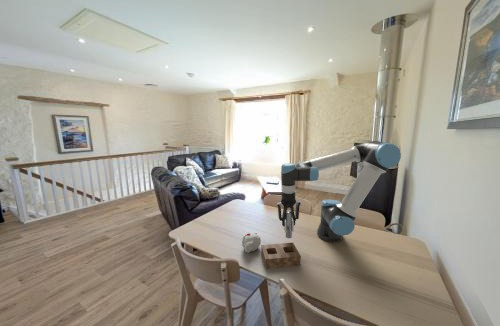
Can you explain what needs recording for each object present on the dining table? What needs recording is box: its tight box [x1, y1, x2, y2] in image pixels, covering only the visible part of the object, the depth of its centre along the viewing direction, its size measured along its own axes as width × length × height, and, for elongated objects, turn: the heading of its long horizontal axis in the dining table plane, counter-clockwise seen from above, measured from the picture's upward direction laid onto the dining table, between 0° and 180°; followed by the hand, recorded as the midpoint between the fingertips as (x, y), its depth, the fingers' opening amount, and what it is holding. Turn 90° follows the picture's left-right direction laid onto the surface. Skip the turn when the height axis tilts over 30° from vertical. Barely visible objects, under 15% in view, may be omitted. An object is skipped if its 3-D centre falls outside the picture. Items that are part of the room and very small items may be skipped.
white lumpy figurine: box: [241, 232, 262, 254], centre depth 117 cm, size 9×11×15 cm
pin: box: [285, 210, 293, 239], centre depth 115 cm, size 4×4×15 cm
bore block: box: [260, 242, 302, 269], centre depth 107 cm, size 18×12×5 cm, turn 97°
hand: (288, 230), depth 116 cm, fingers closed on pin, 3 cm apart
